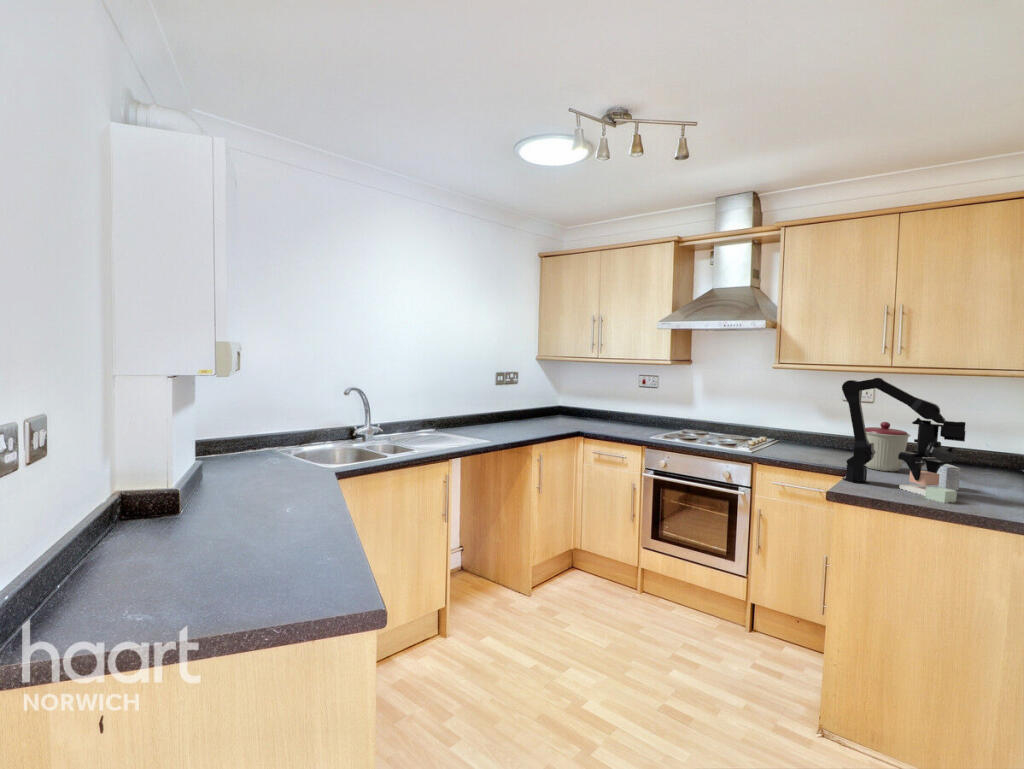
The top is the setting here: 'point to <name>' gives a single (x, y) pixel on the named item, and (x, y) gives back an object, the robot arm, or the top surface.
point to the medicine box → (949, 477)
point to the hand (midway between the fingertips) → (923, 480)
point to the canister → (886, 447)
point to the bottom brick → (926, 478)
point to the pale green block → (941, 494)
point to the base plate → (914, 488)
